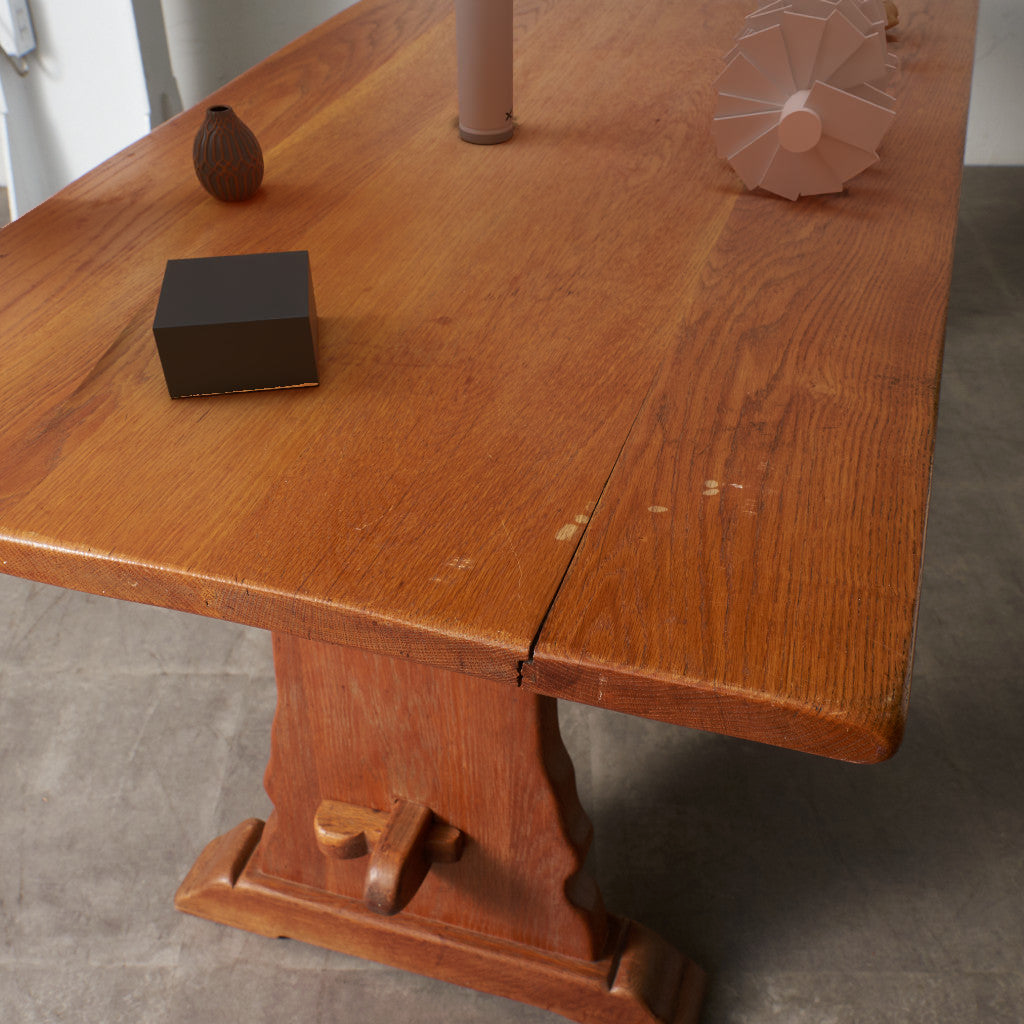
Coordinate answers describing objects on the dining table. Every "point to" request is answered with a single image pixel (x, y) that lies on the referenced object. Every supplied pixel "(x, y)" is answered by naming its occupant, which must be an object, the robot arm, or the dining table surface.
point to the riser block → (237, 323)
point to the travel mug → (485, 70)
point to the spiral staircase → (805, 95)
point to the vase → (227, 156)
